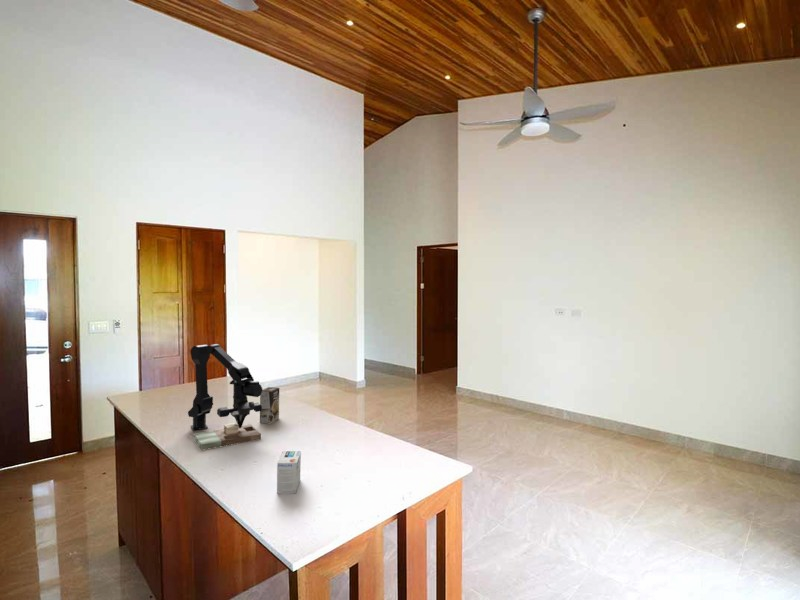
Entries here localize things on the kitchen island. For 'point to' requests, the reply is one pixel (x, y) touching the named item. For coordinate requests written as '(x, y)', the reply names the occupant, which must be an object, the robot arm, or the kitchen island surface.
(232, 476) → the kitchen island surface
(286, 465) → the light bulb box
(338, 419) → the kitchen island surface
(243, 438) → the board
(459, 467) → the kitchen island surface
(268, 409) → the coffee box
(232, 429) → the block
